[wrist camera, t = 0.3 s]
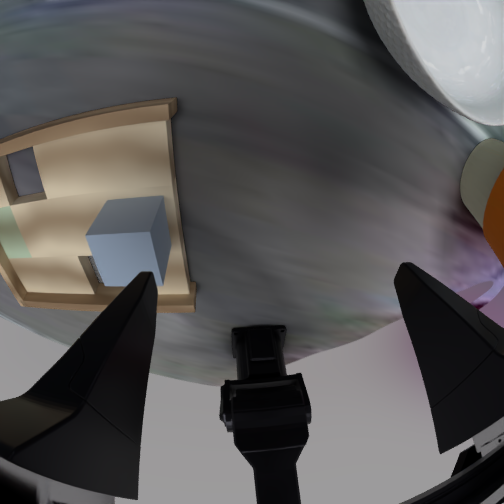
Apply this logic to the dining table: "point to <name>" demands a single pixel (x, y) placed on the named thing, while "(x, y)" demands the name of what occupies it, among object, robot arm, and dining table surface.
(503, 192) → the reusable coffee cup
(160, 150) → the tray
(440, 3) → the cereal bowl
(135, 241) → the slate block
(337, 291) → the dining table surface
